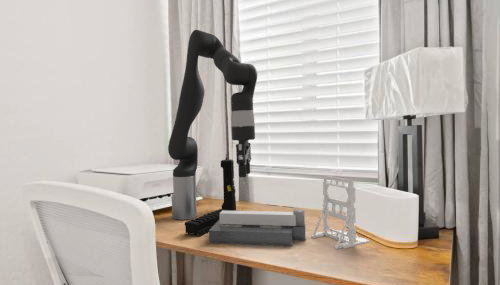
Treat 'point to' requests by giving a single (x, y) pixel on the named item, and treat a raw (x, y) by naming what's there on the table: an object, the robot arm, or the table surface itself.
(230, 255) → the table surface
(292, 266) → the table surface
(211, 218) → the rail mount
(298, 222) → the bar
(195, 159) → the robot arm
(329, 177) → the film strip holder
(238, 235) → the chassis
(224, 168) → the portable radio
